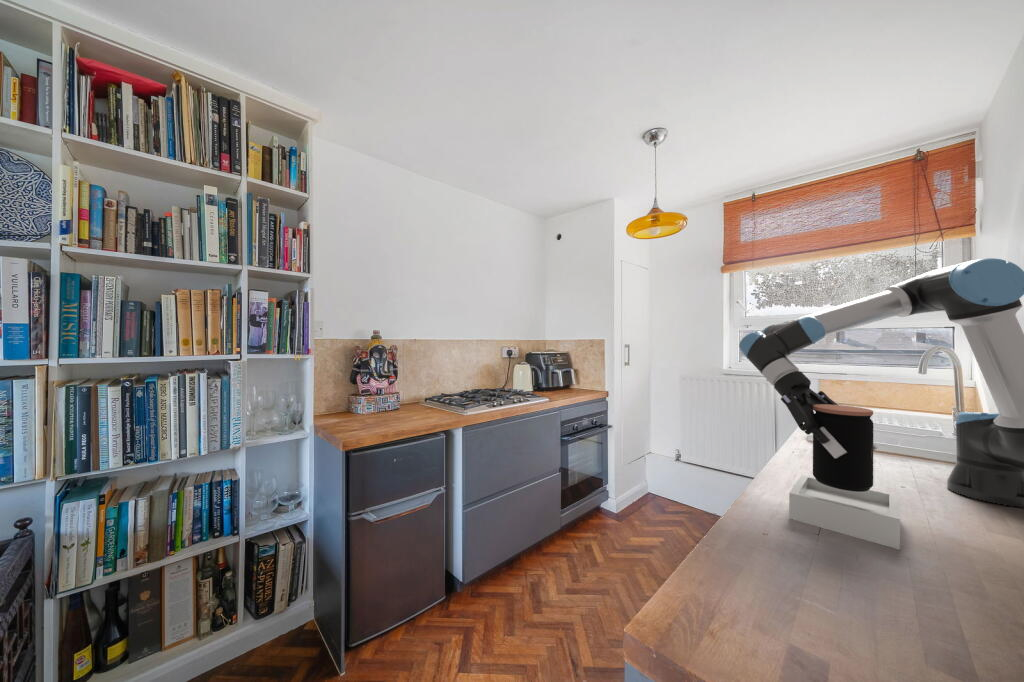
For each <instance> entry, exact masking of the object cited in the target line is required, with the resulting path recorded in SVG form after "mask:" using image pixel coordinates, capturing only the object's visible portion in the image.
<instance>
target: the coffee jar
mask: <svg viewBox="0 0 1024 682" xmlns="http://www.w3.org/2000/svg"><path fill="white" fill-rule="evenodd" d="M813 409H814V410H815V411H816V412H815V411H814V410H813V411H814V414H815V416H816V418H817V421H818V423H819V426H820V427H819V429H820V428H821V427H824V428H825V429H826V430H827V431H828V432H829V433H830V434H831V435H832V436H833V438H834V439H835V440H836V441H837V442H838V443H839V444H840V445H841V446H842V447H843V448H844V449H845V450H846V453H845V454H843V455H841V456H840V457H838V458H834V457H833V456H832V455H831V454H830V453H829V451H828V450H827V449H826V448H825V447H824V446H823V445H822V444H821V442H820V441H819V440H818V439H817V438H816V437H815V436H814V435H813V434H812V475H813V476H812V477H815V478H816V480H817V481H818V482H820V483H822V484H824V485H827V486H830V487H833V488H837V489H842V490H847V491H855V492H865V491H868V490H869V489H872V487H874V451H873V443H874V421H873V420H872V419H871V417H872V416H873V415H874V410H872V409H869V408H865V407H858V406H851V405H843V404H838V405H829V404H816V405H813Z"/></svg>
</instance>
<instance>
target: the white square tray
mask: <svg viewBox="0 0 1024 682" xmlns="http://www.w3.org/2000/svg"><path fill="white" fill-rule="evenodd" d="M788 495H789V496H788V497H789V498H788V500H789V502H788V505H789V506H788V507H789V509H788V510H789V511H788V516H789V517H788V518H790V519H789V520H792V519H793V521H796V522H800V523H803V524H807V525H811V526H814V527H818V528H822V529H824V530H825V529H826V530H827V531H828V530H829V531H832V532H835V533H839V534H843V535H846V536H848V537H849V536H850V537H854V538H856V539H860V540H863V541H868V542H871V543H875V544H879V545H883V546H885V547H889V548H893V549H896V550H901V514H900V512H901V511H900V498H899V494H897V493H893V492H888V491H883V490H878V489H874V488H870V489H869V490H868V491H865V492H855V491H847V490H842V489H837V488H833V487H830V486H827V485H824V484H822V483H820V482H818V481H817V480H816V478H815V477H814V476H811V475H806V474H801V475H800V477H798V480H797V481H796V482H795V484H794V486H793V487H792V488H791V490H790V491H789V493H788Z"/></svg>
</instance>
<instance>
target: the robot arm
mask: <svg viewBox="0 0 1024 682" xmlns="http://www.w3.org/2000/svg"><path fill="white" fill-rule="evenodd" d="M1023 296H1024V270H1023V269H1022V268H1021V267H1020V266H1018V265H1017V264H1016V263H1014V262H1011V261H1008V260H1006V259H1005V260H1004V259H1001V258H991V257H990V258H980V259H972V260H968V261H964V262H961V263H956V264H954V265H949V266H945V267H942V268H936V269H933V270H930V271H927V272H925V273H922V274H920V275H918V276H915V277H913V278H909V279H907V280H905V281H901V282H899V283H897V284H893V285H891V286H888V287H886V288H885V289H884V290H883V291H881V292H880V293H876V294H873V295H868V296H867V297H865V296H864V297H862V298H860V299H857V300H856V299H855V300H852V301H850V302H846V303H843V304H840V305H836V306H833V307H829V308H826V309H824V310H820V311H817V312H814V313H811V314H807V315H804V316H800V317H796V318H794V319H792V320H788V321H784V322H781V323H778V324H777V323H776V324H772V325H769V326H767V327H764V329H763V330H762V331H754V332H750V333H748V334H746V335H745V336H744V337H742V338H741V340H740V342H739V344H738V345H739V346H738V348H739V350H740V351H741V352H742V354H743V355H744V356H745V357H746V359H747V360H748V361H750V362H751V364H752V365H753V366H754V367H755V368H756V369H757V370H758V371H759V372H760V373H761V374H762V376H763V377H764V378H765V379H766V381H767V382H768V383H770V385H771V386H773V388H774V389H775V391H776V392H778V394H779V395H780V397H781V398H780V400H781V402H783V404H784V405H785V406H786V408H787V410H788V412H790V414H791V416H792V417H793V420H795V423H796V424H797V426H798V428H799V429H800V430H801V431H803V432H804V433H805V434H806V435H807V436H808V435H811V434H812V436H813V435H814V436H815V437H816V438H817V439H818V440H819V441H820V442H821V444H822V445H823V446H824V447H825V448H826V449H827V450H828V451H829V453H830V454H831V455H832V456H833V457H834V458H838V457H840V456H841V455H843V454H845V453H846V450H845V449H844V448H843V447H842V446H841V445H840V444H839V443H838V442H837V441H836V440H835V439H834V438H833V436H832V435H831V434H830V433H829V432H828V431H827V430H826V429H825V428H824V427H821V428H820V429H819V427H820V426H819V423H818V421H817V418H816V416H815V413H816V411H815V410H814V409H813V405H816V404H829V405H839V404H838V403H836V402H835V401H834V400H833V399H831V398H830V397H829V396H828V395H827V394H826V393H825V392H824V391H822V390H820V391H818V392H815V391H814V390H813V389H811V388H810V387H811V384H812V381H811V380H810V379H809V378H808V377H807V376H806V375H805V374H804V373H803V372H802V371H800V369H799V368H798V367H797V366H796V365H795V364H794V363H793V362H792V361H791V360H790V358H789V357H788V356H790V355H792V354H794V353H796V352H798V351H800V350H802V349H803V350H804V349H805V348H807V347H809V346H811V345H814V344H816V343H817V342H820V340H823V339H825V337H827V336H828V335H829V336H831V335H832V334H836V333H840V332H844V331H846V330H847V331H848V330H850V329H854V328H857V327H861V326H865V325H868V324H871V323H874V322H879V321H882V320H885V319H889V318H893V317H899V318H904V317H909V316H913V315H916V314H917V315H918V314H924V313H934V312H945V314H946V316H947V318H948V320H949V321H950V322H952V323H955V324H958V325H960V326H961V329H962V330H963V333H964V335H965V337H966V339H967V342H968V344H969V347H970V348H971V352H972V353H973V355H974V358H975V360H976V363H977V365H978V368H979V370H980V371H981V374H982V377H983V379H984V381H985V383H986V386H987V387H988V390H989V393H990V395H991V397H992V399H993V402H994V403H995V406H996V409H997V411H998V412H997V413H995V412H977V411H976V412H975V411H973V412H971V411H961V412H959V413H958V414H957V415H956V419H955V423H954V424H955V425H954V426H956V427H955V429H956V430H955V431H956V432H955V433H956V434H955V435H956V440H955V441H956V449H955V450H956V462H955V464H954V467H953V469H952V471H951V472H950V474H949V476H948V477H947V481H946V482H947V483H946V487H947V489H948V490H949V489H950V490H949V491H951V492H953V491H954V492H953V493H955V492H956V493H955V494H958V493H959V494H958V495H960V494H962V495H961V496H963V495H965V496H964V497H966V496H967V497H966V498H970V497H971V498H970V499H973V498H974V500H977V499H979V500H978V501H981V500H983V501H982V502H985V501H988V502H987V503H990V502H994V503H993V504H995V503H999V504H998V505H1000V504H1006V505H1011V506H1010V507H1014V506H1018V507H1017V508H1024V330H1023V329H1022V327H1021V324H1020V322H1019V320H1018V317H1017V315H1016V314H1017V313H1018V311H1020V309H1021V308H1022V307H1023V303H1022V301H1021V298H1022V297H1023ZM877 449H879V447H878V446H877V445H876V444H875V443H874V442H873V452H874V451H876V450H877ZM1006 505H1005V506H1006Z"/></svg>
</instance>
